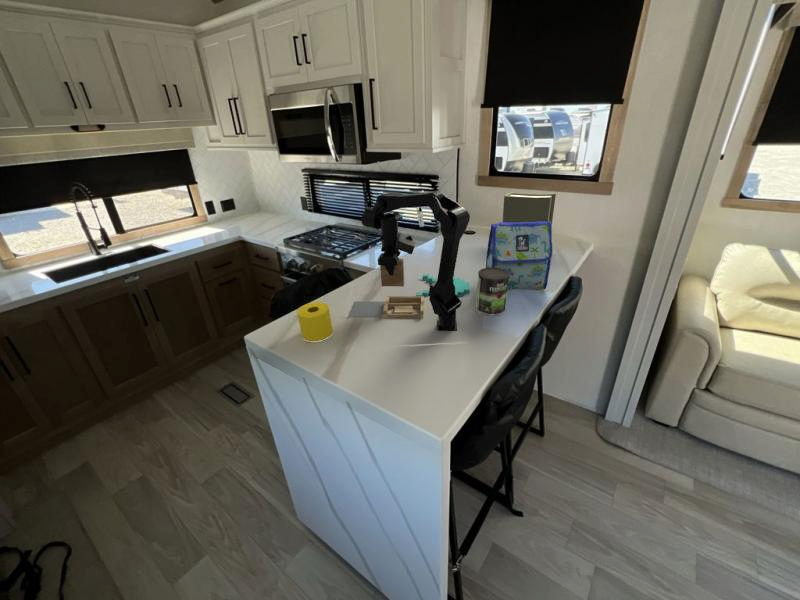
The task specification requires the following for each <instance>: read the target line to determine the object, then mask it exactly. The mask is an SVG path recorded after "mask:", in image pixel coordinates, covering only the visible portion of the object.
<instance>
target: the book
mask: <svg viewBox="0 0 800 600" xmlns="http://www.w3.org/2000/svg"><path fill="white" fill-rule="evenodd" d="M556 194H557V193H556V192H555V193H554V192H553V193H530V192H528V193H527V192H507V193H506V194H505V195H504V196H503V207H502V208H503V209H502V211H503V212H502V222H505V223H520V222H551V226H552V225H553V219H554V212H555V211H554V210H555V204H556V203H555V202H556V196H557V195H556Z"/></svg>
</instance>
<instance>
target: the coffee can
mask: <svg viewBox="0 0 800 600" xmlns="http://www.w3.org/2000/svg"><path fill="white" fill-rule="evenodd" d="M477 274H478V279H477V295H476V307H475V308H476V311H477V312H478V313H479V312H480V313H479V314H480V315H484V316H488V317H496V316H501V315H503V314H504V313H505V312H506V305H507V296H508V295H507V294H508V290H507V288H508V279H509V272H508V271H506V270H504V269H501V268H486V267H484V268H482V269H479V271H478V273H477Z"/></svg>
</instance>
